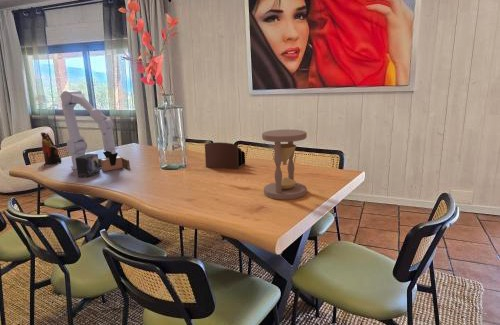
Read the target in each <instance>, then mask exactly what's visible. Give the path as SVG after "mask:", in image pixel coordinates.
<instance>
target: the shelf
mask: <svg viewBox="0 0 500 325" xmlns="http://www.w3.org/2000/svg"><path fill="white" fill-rule="evenodd" d="M119 156H120V157H122V164H123V168H124V169H127V170H130V169H131V165H130V160H129V159H128V158H125V157H123V156H122V155H119ZM104 158H105V157H103V158H98V161H99V168H100V167H101V168H102V165H101V159H104Z"/></svg>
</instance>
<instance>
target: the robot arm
mask: <svg viewBox="0 0 500 325" xmlns="http://www.w3.org/2000/svg"><path fill="white" fill-rule="evenodd" d="M60 101H61V108H62V112H63V116H64V121H65V124H66V128H67V132H68V135H69V137H68V138H67V140H66V150H67V152H68V153H69V154H70V155H71V158H70V159H71V163H72V165H71V166H70V167H71V168H72V169H73V170H75V171H77V166H76V159H75V158H76V157H80V156H83V155H86V151H87V149H88V143H87V142H86V140H85V137H83V136H82V135H81V134H80V130H79V125H78V122H77V117H76V114H75V110H74V108H75V106H76V105H80V106H81V107H82V108H84V109H85V110H86V111H87V112H88V113H89V117H90V118H91V119H93V121H95V123H96V124H97V126H98V128H99V130H100V132H101V136H102V143H103V152H102V154H103V155H104V158H109V160H110V163H111V166H113V165H116V157H117V156H119V155H118V154H119V152H116V150H117V149H118V147H117V146H116V144H115V137H114V130H113V129H114V127H115V122H114V120H113V118H110V117H108V116H106V114H104V113H103V112H102V110H100V109H99V108H94V105H92V104H91V103H90V102H89V100H87V99H86V96H85V94H84V93H82V91H81V90H78V89H77V90H63V91H62V92H61V94H60ZM115 146H116V147H115Z"/></svg>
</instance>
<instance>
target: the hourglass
mask: <svg viewBox="0 0 500 325" xmlns="http://www.w3.org/2000/svg"><path fill="white" fill-rule="evenodd" d="M307 137H308V135H307V132H306V131H305V130H301V129H300V130H299V129H274V130H273V129H272V130H268V131H264V132H262V134H261V138H262V140H263V141H265V142H272V143H274V144H273V145H272V148H273V150H274V156H273V161H274V164H275V170H274V181H273V182H270V183H269V184H266V185H265V186H263V187H264V188H263V193H264V195H265V196H266V197H267V198H269V199H275V200H281V201H283V200H285V201H286V200H287V201H288V200H295V199H300V198H302V197H305V196H306V194H307V192H308V189H307V185H305V184H304V183H300V182H297V181H296V180H295V163H294V160H293V159H294V155H295V150H296V147H297V145H296V144H294V142H298V141H303V140H306V139H307ZM281 165H282V166H286V167H287V174H288V177H286V176H283V172H282V169H281Z"/></svg>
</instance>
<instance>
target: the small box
mask: <svg viewBox="0 0 500 325" xmlns="http://www.w3.org/2000/svg"><path fill="white" fill-rule="evenodd" d="M75 159H76V166H77V169H76V171H77V177H78V178H89V177H92V176H94V175H96V174H100V173H101V169H100V168H99V161H98V159H99V154H98V153H85V155H83V156H80V157H76V158H75ZM99 172H100V173H99Z"/></svg>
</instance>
